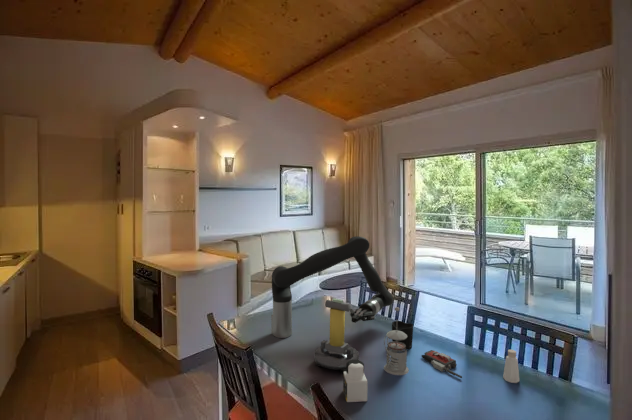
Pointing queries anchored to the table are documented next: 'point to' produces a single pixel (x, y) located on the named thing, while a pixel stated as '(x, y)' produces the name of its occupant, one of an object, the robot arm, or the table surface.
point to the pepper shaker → (511, 367)
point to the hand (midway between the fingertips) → (353, 320)
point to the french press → (398, 359)
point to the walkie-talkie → (441, 361)
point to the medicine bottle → (355, 382)
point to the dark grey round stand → (334, 358)
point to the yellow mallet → (337, 326)
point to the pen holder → (405, 328)
